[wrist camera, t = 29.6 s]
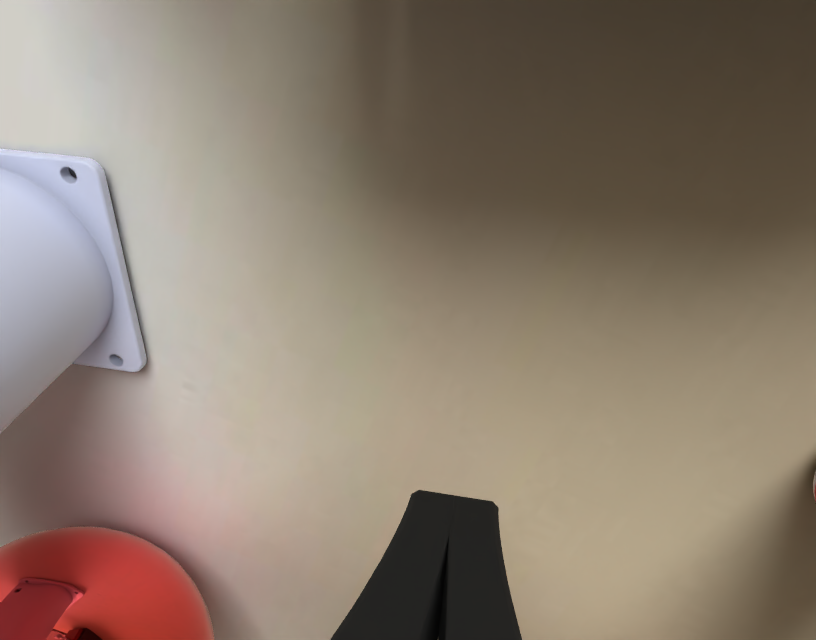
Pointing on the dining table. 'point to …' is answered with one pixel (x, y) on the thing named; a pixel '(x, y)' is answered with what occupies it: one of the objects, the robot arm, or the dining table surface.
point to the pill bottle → (814, 486)
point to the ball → (96, 589)
